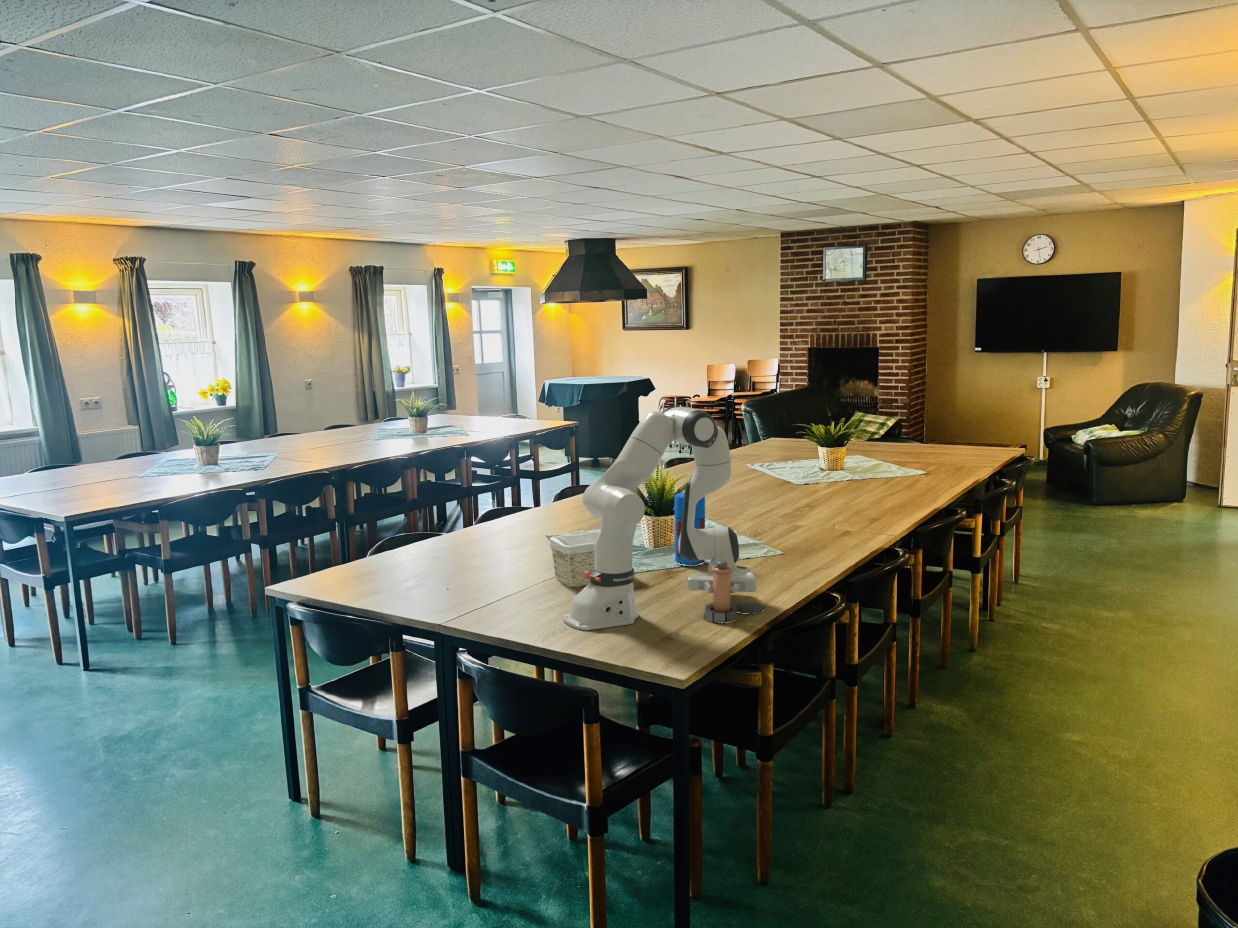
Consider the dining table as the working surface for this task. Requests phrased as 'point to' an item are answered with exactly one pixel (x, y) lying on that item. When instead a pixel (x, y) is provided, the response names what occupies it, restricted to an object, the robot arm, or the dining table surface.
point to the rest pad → (749, 607)
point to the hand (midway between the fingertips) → (721, 590)
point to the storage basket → (574, 557)
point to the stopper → (721, 586)
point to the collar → (720, 614)
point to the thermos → (698, 524)
